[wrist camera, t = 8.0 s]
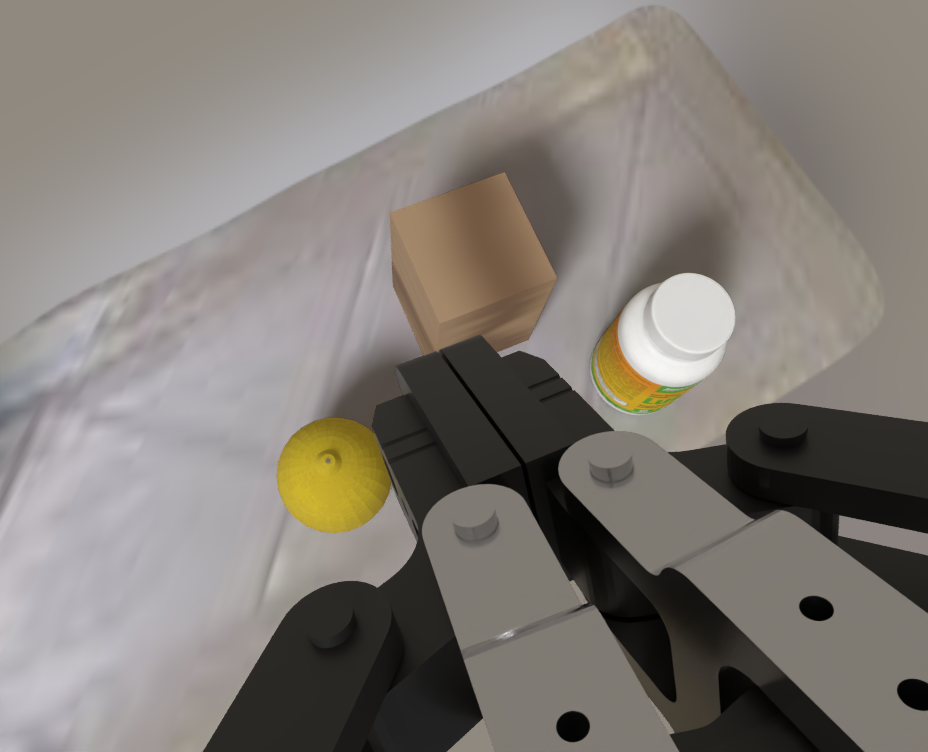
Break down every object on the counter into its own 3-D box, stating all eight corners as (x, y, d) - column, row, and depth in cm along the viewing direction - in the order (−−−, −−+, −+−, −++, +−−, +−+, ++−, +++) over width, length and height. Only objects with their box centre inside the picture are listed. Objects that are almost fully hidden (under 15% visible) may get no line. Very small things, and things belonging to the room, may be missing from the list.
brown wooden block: (433, 377, 44) (439, 323, 35) (392, 286, 45) (389, 212, 36) (528, 339, 45) (557, 278, 36) (486, 251, 46) (504, 171, 38)
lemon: (399, 530, 41) (398, 515, 34) (294, 545, 41) (268, 533, 33) (386, 429, 43) (382, 392, 35) (285, 442, 42) (258, 408, 34)
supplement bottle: (626, 435, 44) (685, 391, 34) (569, 358, 45) (613, 295, 35) (698, 384, 45) (775, 328, 35) (642, 311, 46) (702, 238, 36)
